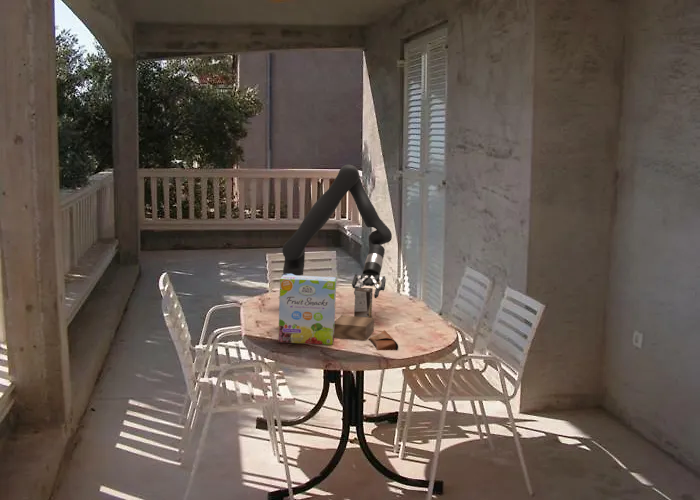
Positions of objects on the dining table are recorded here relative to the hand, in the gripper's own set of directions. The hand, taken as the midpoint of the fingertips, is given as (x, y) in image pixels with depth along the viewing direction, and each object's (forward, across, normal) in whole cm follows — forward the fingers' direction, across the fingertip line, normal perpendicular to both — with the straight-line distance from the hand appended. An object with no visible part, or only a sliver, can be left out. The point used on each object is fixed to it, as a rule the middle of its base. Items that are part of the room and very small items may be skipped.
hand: (365, 296), depth 340 cm
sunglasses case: (+30, +15, -11) cm, 35 cm away
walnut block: (+22, 0, -4) cm, 22 cm away
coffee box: (+11, 0, +7) cm, 13 cm away
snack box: (+35, -14, -17) cm, 41 cm away
